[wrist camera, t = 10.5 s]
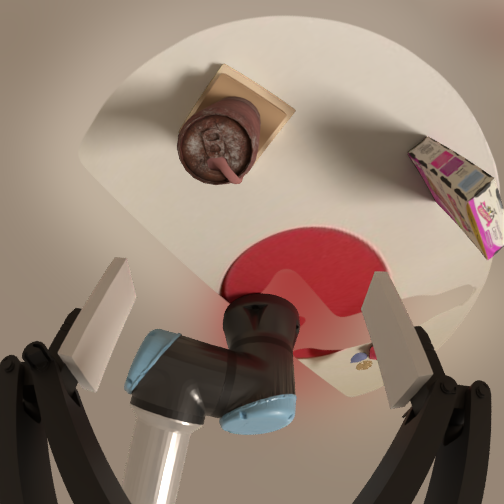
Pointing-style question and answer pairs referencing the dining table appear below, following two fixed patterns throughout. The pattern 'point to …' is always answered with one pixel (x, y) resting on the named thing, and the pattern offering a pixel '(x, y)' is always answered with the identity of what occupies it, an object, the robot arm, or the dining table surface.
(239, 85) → the stand
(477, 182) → the candy bar box
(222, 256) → the dining table surface
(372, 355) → the toy pieces
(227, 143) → the can
